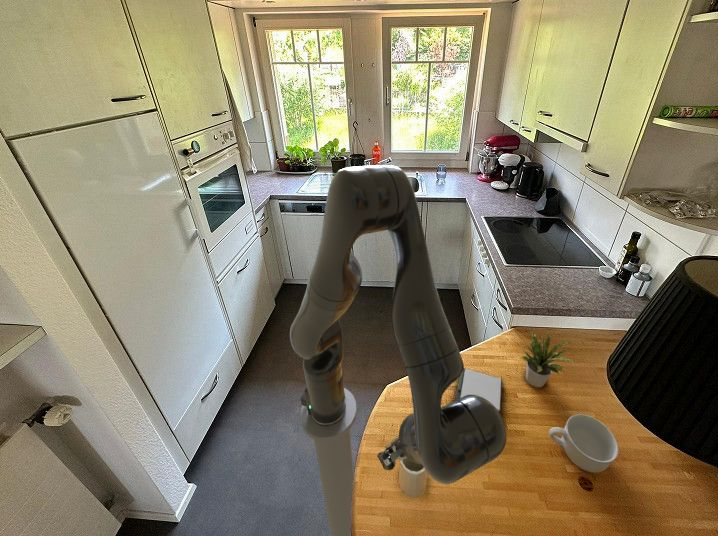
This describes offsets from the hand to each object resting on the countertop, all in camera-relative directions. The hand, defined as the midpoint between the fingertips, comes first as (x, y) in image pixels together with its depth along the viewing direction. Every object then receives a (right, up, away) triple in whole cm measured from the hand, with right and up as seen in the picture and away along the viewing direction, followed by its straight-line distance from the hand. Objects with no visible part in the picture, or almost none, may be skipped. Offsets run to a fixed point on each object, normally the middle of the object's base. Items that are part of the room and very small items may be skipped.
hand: (406, 437), depth 65 cm
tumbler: (+2, -16, +9) cm, 18 cm away
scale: (+23, -5, +28) cm, 37 cm away
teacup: (+43, -13, +14) cm, 47 cm away
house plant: (+43, -3, +32) cm, 54 cm away
